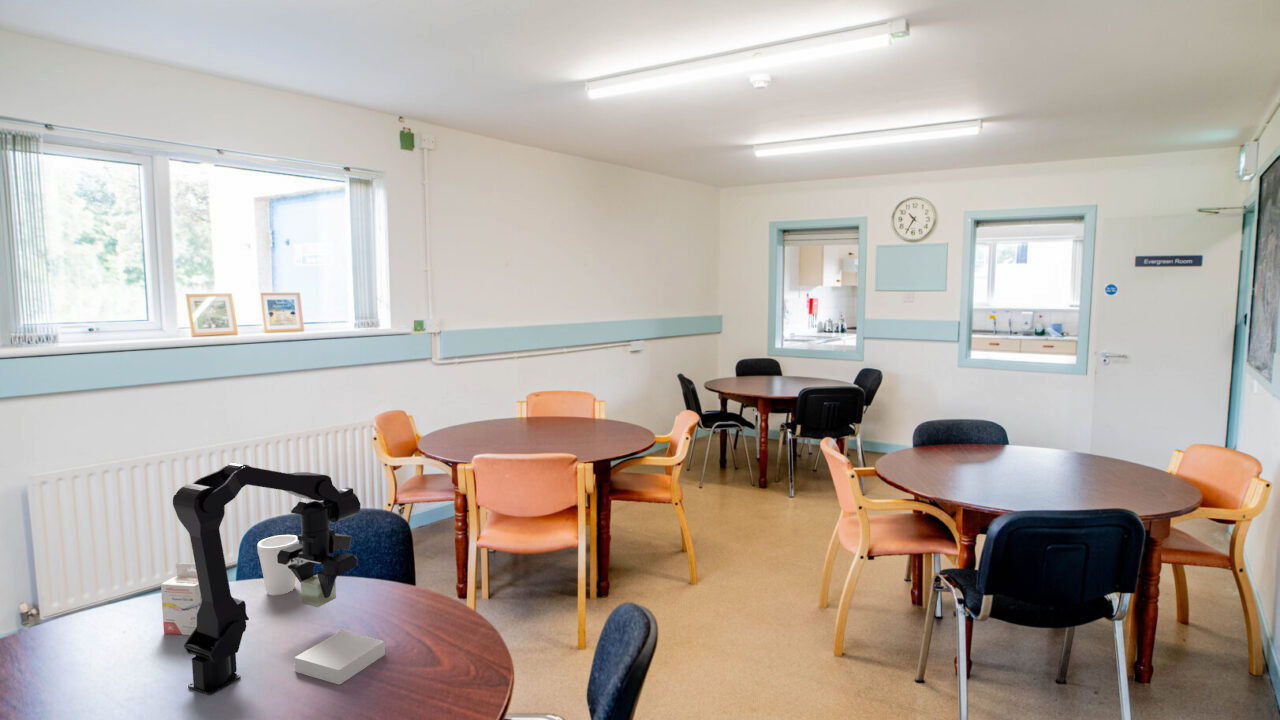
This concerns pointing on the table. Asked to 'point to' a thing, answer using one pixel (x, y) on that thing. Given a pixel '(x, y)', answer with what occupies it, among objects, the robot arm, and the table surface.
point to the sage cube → (315, 592)
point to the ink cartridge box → (181, 601)
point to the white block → (339, 657)
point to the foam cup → (276, 564)
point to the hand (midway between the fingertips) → (318, 595)
